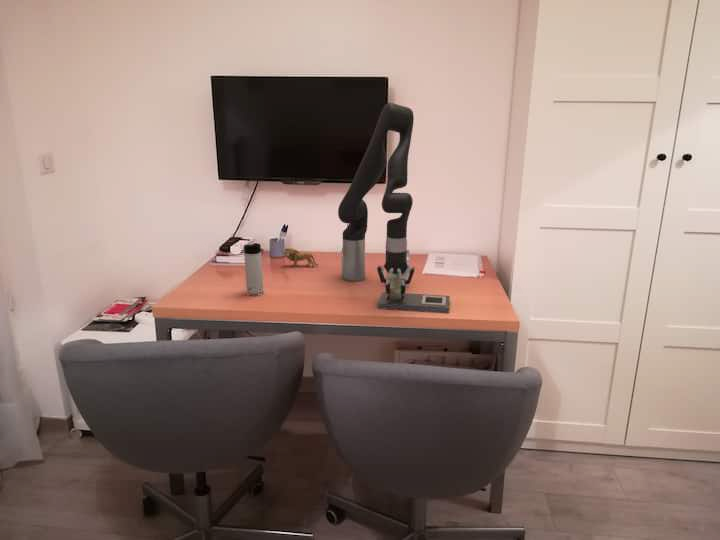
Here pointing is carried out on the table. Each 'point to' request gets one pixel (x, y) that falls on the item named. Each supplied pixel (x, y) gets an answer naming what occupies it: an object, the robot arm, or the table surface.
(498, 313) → the table surface
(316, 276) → the table surface
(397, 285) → the peg
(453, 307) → the table surface
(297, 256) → the lion figurine
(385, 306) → the grey flat plate
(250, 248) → the travel mug
